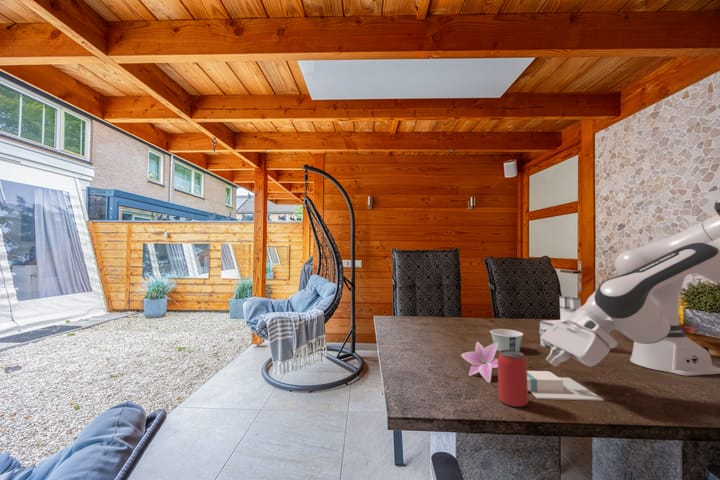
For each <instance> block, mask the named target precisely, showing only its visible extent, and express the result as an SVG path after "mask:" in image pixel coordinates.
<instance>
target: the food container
mask: <svg viewBox="0 0 720 480" xmlns="http://www.w3.org/2000/svg"><path fill="white" fill-rule="evenodd" d="M489 333H490V334H491V340H492V344H493V343H498V347H497V350H496V351H498V352H500V351H501V350H514V351H518V352H520V351H521V346H522V339H523V336H524V333H523V332H521V331H518V330H513V329H508V328H507V329H505V328H495V329H494V328H493V329H491V330H489Z"/></svg>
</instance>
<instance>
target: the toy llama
mask: <svg viewBox="0 0 720 480" xmlns="http://www.w3.org/2000/svg"><path fill="white" fill-rule="evenodd" d="M581 303H582V301H581V297H574V296H573V297H571V296H568V295H559V315H560V318H559V319H554V320H553V319H551V320H539V328H538V329H539V331H538V333H539V336H540V338H539V339H540V340H539V341H540V346H541V347H544V348H549V349H550V350H551V349H552V347H550V346H548V345H547V344H546V343H545V342H544V341H543V340H542V339H541V336H542V334H543V333H544V332H545V331H546V330H548V329H549V328H550V327H551V326H552V325H554V324H555V323H558V322H564V321H566V320H567V319H568V318H569V317H570V316H571V315H572V314H573V313H574V312H575V311H576V310H577V309H578V308H579V307H581V306H582V304H581Z"/></svg>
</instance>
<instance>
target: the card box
mask: <svg viewBox="0 0 720 480" xmlns="http://www.w3.org/2000/svg"><path fill="white" fill-rule="evenodd" d="M527 388H528V392H529V391H550V392H563V380H562V379H560V378H559V376H557V375H556V374H554V373H553V372H551V371H550V370H549V371H547V370H527Z"/></svg>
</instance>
